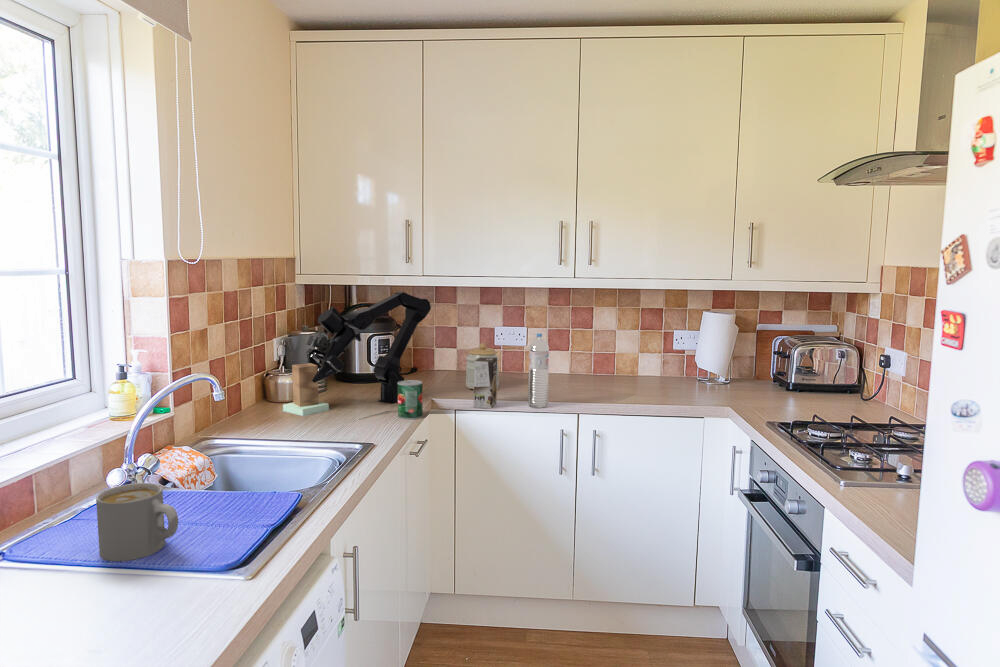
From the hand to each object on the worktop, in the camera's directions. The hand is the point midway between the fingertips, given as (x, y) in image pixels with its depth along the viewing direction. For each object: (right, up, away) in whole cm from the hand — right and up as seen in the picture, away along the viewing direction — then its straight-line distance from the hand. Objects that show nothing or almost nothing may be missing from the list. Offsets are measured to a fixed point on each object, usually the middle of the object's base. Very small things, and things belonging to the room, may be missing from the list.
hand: (307, 379), depth 209 cm
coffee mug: (-1, -23, -95) cm, 98 cm away
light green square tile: (-1, -12, +1) cm, 12 cm away
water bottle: (+74, -11, +16) cm, 77 cm away
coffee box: (+56, -10, +17) cm, 59 cm away
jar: (+54, -7, +45) cm, 71 cm away
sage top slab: (-1, -10, +1) cm, 10 cm away
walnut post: (-1, -8, +1) cm, 8 cm away
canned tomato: (+33, -12, 0) cm, 35 cm away
